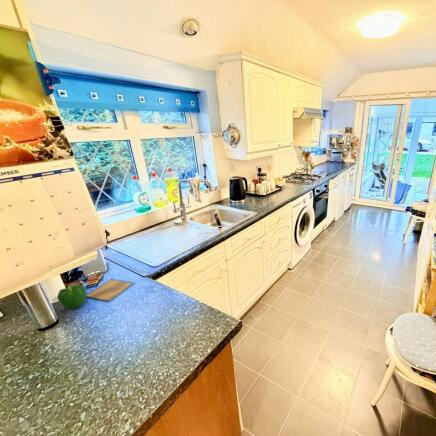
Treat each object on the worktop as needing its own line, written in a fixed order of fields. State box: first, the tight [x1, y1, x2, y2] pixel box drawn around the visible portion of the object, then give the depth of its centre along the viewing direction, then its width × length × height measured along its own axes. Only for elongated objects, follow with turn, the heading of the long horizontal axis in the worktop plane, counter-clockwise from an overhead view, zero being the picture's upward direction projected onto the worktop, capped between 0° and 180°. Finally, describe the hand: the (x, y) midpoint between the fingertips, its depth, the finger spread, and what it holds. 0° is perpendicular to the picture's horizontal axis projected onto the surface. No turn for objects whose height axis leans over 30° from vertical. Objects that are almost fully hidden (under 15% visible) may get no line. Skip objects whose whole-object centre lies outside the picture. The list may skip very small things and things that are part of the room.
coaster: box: [86, 279, 132, 302], centre depth 107 cm, size 12×12×1 cm
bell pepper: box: [56, 283, 87, 310], centre depth 96 cm, size 8×8×10 cm
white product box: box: [80, 248, 108, 278], centre depth 118 cm, size 9×9×15 cm
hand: (90, 253), depth 118 cm, fingers open, 13 cm apart
